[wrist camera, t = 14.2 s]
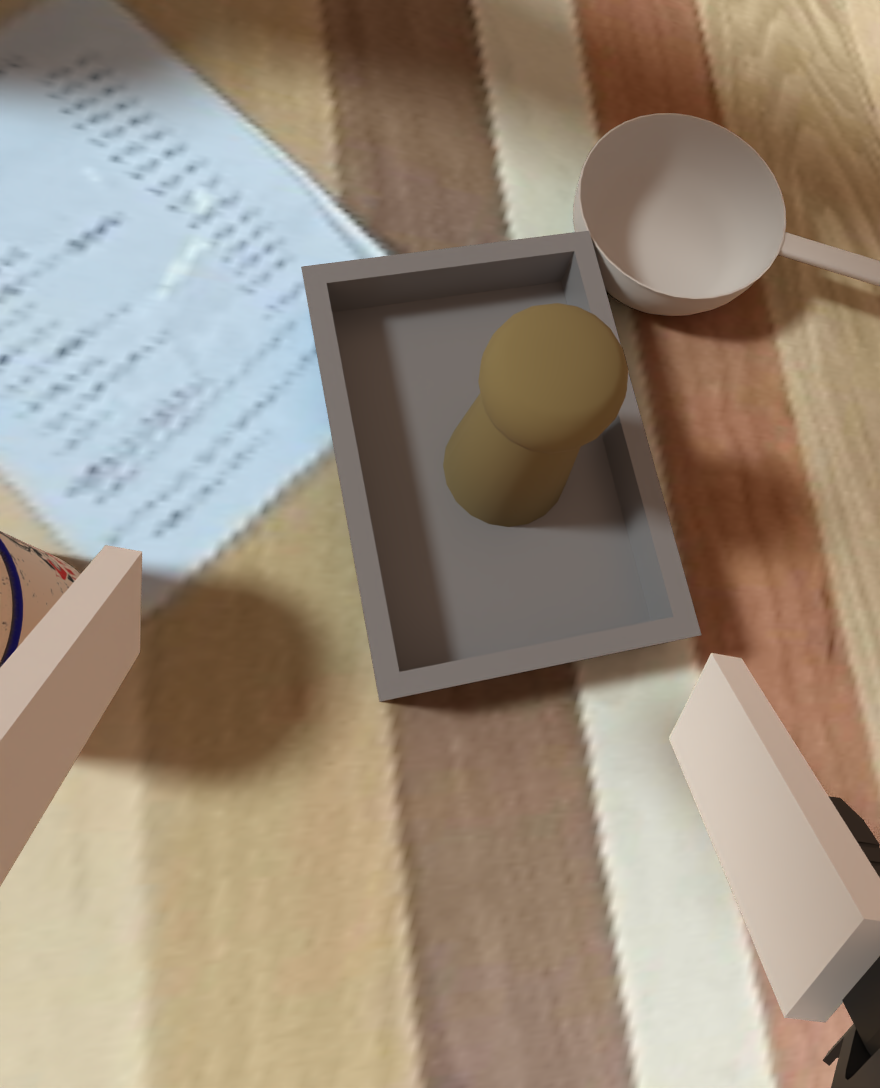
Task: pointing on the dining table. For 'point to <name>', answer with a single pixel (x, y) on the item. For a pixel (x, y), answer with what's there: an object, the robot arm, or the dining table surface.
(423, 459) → the tray
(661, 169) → the saucepan
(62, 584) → the teacup with lid
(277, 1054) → the dining table surface
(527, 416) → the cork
